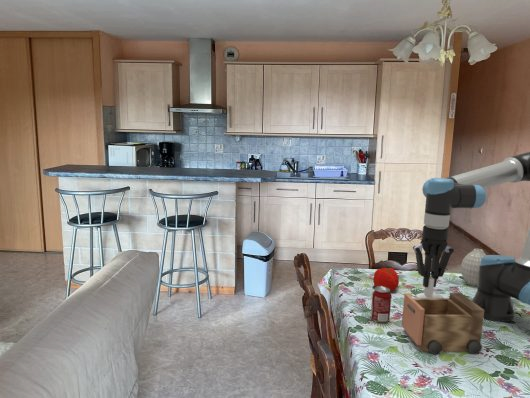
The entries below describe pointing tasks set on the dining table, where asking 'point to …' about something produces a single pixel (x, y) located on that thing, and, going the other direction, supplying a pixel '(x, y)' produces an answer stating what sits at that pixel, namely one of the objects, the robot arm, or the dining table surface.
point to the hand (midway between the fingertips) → (428, 296)
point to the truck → (451, 324)
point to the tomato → (386, 278)
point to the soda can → (381, 304)
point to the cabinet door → (413, 318)
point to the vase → (472, 266)
